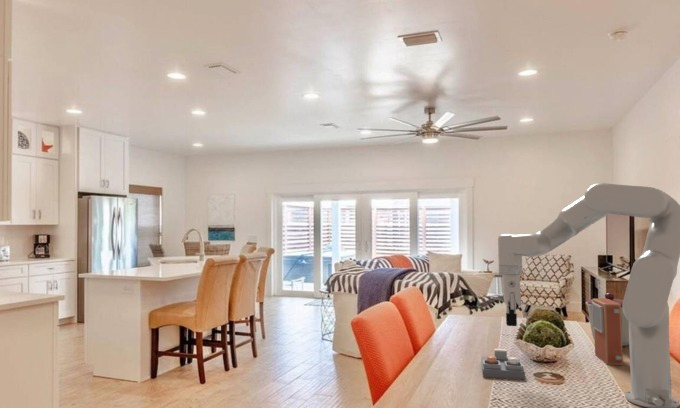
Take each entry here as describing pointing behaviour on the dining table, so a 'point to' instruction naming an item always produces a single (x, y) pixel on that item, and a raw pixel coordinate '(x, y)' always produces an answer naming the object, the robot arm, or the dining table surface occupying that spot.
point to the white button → (513, 360)
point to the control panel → (607, 331)
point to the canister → (624, 320)
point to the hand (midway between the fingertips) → (511, 325)
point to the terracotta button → (491, 359)
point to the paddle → (501, 354)
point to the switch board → (502, 369)
